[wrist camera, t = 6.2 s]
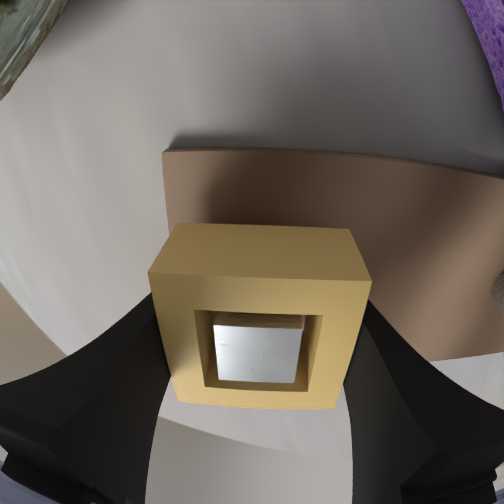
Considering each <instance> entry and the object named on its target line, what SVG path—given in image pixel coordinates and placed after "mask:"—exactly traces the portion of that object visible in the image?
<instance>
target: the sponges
mask: <svg viewBox="0 0 504 504" xmlns="http://www.w3.org/2000/svg"><path fill="white" fill-rule="evenodd" d="M460 1H461V2H462V4H463V5H464V6H465V9H466V12H467V14H468V16H469V18H470V19H471V21H472V24H473V27H474V29H475V31H476V34H477V36H478V38H479V40H480V43H481V46H482V48H483V51H484V54H485V56H486V58H487V59H488V61H489V65H490V68H491V71H492V75H493V78H494V81H495V84H496V88H497V90H498V93H499V94H500V96H501V102H502V107H503V111H504V0H460Z"/></svg>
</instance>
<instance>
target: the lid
mask: <svg viewBox="0 0 504 504" xmlns="http://www.w3.org/2000/svg"><path fill="white" fill-rule="evenodd" d="M69 1H70V0H0V100H1V99H2V98H3V97H4V96H5V95H6V94H7V93H8V92H9V91H10V89H11V88H12V86H13V84H14V83H15V81H16V80H17V78H18V77H19V76H20V74H21V73H22V72H23V71H24V70H25V68H26V67H27V66H28V64H29V62H30V61H31V59H32V58H33V56H34V54H35V53H36V51H37V50H38V48H39V47H40V45H41V44H42V42H43V41H44V39H45V38H46V36H47V35H48V33H49V32H50V31H51V29H52V28H53V26H54V24H55V22H56V21H57V19H58V18H59V16H60V15H61V13H62V12H63V10H64V9H65V7H66V5H67V4H68V2H69Z"/></svg>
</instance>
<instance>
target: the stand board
mask: <svg viewBox="0 0 504 504" xmlns="http://www.w3.org/2000/svg"><path fill="white" fill-rule="evenodd" d="M162 162H163V174H164V186H165V197H166V207H167V217H168V226H169V235H171V233H172V231H173V230H174V228H175V227H176V225H177V223H205V224H242V225H272V226H297V227H320V228H341V229H349V230H350V232H351V234H352V236H353V238H354V241H355V243H356V245H357V247H358V249H359V252H360V254H361V256H362V258H363V261H364V263H365V265H366V268H367V270H368V272H369V275H370V277H371V279H372V284H371V288H370V292H369V296H368V299H369V300H370V301H371V303H372V304H373V305H374V306H375V307H376V308H377V310H378V311H379V312H380V313H381V314H382V315H383V316H384V318H385V319H386V320H387V321H388V322H389V323H390V324H391V325H392V327H393V328H394V329H395V330H396V331H397V332H398V333H399V334H400V335H401V336H402V337H403V338H404V339H405V340H406V341H407V342H408V343H409V344H410V345H411V346H412V347H413V348H414V349H415V350H416V351H417V352H418V353H419V354H420V355H421V356H422V357H423V358H424V359H426V360H427V361H428V362H429V361H439V360H448V359H457V358H465V357H472V356H479V355H486V354H493V353H499V352H504V177H501V176H497V175H492V174H487V173H483V172H478V171H473V170H467V169H462V168H457V167H451V166H445V165H439V164H433V163H427V162H420V161H413V160H406V159H398V158H390V157H382V156H373V155H363V154H353V153H342V152H329V151H315V150H298V149H276V148H175V149H166V150H165V151H163V152H162ZM305 316H306V315H300V314H268V313H245V312H226V311H216V317H215V321H214V336H215V347H216V357H217V367H218V376H219V379H220V380H233V381H249V382H271V383H294V381H295V375H296V368H297V362H298V356H299V349H300V343H301V336H302V331H303V330H304V323H305Z"/></svg>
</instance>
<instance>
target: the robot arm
mask: <svg viewBox="0 0 504 504" xmlns="http://www.w3.org/2000/svg"><path fill="white" fill-rule="evenodd" d="M170 377H171V374H170V370H169V366H168V362H167V358H166V354H165V350H164V346H163V342H162V338H161V334H160V329H159V325H158V320H157V316H156V311H155V307H154V302H153V297H152V292H151V293H150V294H149V295H148V296H146V297H145V298H144V299H143V300H142V301H141V302H140V303H139V304H138V305H136V306H135V307H134V308H133V309H132V310H131V311H130V312H128V313H127V314H126V315H125V316H124V317H123V318H122V319H120V320H119V321H118V322H116V323H115V324H114V325H113V326H111V327H110V328H109V329H108V330H106V331H105V332H104V333H103V334H101V335H100V336H99V337H97V338H96V339H95V340H93V341H92V342H90V343H89V344H87V345H86V346H84V347H83V348H81V349H80V350H78V351H76V352H75V353H73V354H71V355H69V356H68V357H66V358H64V359H62V360H60V361H59V362H57V363H55V364H53V365H51V366H49V367H47V368H45V369H43V370H41V371H38V372H36V373H34V374H32V375H29V376H27V377H24V378H21V379H18V380H15V381H12V382H9V383H6V384H3V385H0V445H1V446H2V447H3V448H4V449H5V450H6V451H7V452H8V455H7V457H6V459H5V461H4V462H2V461H1V460H0V504H145V494H146V482H147V474H148V467H149V460H150V453H151V448H152V442H153V436H154V431H155V426H156V421H157V417H158V413H159V410H160V406H161V403H162V400H163V397H164V394H165V391H166V389H167V386H168V383H169V380H170ZM343 386H344V391H345V396H346V401H347V406H348V411H349V416H350V424H351V436H352V456H353V496H352V504H504V488H503V489H501V490H499V491H496V492H495V490H494V486H493V481H495V480H496V479H497V474H496V471H495V468H497V467H498V466H499V465H500V464H501V463H502V462H504V410H503V409H500V408H498V407H496V406H494V405H492V404H490V403H488V402H486V401H484V400H482V399H481V398H479V397H477V396H475V395H474V394H472V393H470V392H469V391H467V390H466V389H464V388H462V387H461V386H459V385H458V384H457V383H455V382H454V381H452V380H451V379H449V378H448V377H447V376H445V375H444V374H443V373H441V372H440V371H439V370H437V369H436V368H435V367H434V366H433V365H432V364H430V363H429V362H428V361H427V360H426V359H424V358H423V357H422V356H421V355H420V354H419V353H418V352H417V351H416V350H415V349H414V348H413V347H412V346H411V345H410V344H409V343H408V342H407V341H406V340H405V339H404V338H403V337H402V336H401V335H400V334H399V333H398V332H397V331H396V330H395V329H394V328H393V327H392V325H391V324H390V323H389V322H388V321H387V320H386V319H385V318H384V316H383V315H382V314H381V313H380V312H379V311H378V310H377V308H376V307H375V306H374V305H373V304H372V303H371V301H370V300H369V299H368V300H367V304H366V308H365V311H364V315H363V319H362V322H361V326H360V329H359V333H358V336H357V340H356V343H355V347H354V350H353V353H352V356H351V360H350V363H349V366H348V369H347V372H346V375H345V378H344V381H343Z"/></svg>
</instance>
